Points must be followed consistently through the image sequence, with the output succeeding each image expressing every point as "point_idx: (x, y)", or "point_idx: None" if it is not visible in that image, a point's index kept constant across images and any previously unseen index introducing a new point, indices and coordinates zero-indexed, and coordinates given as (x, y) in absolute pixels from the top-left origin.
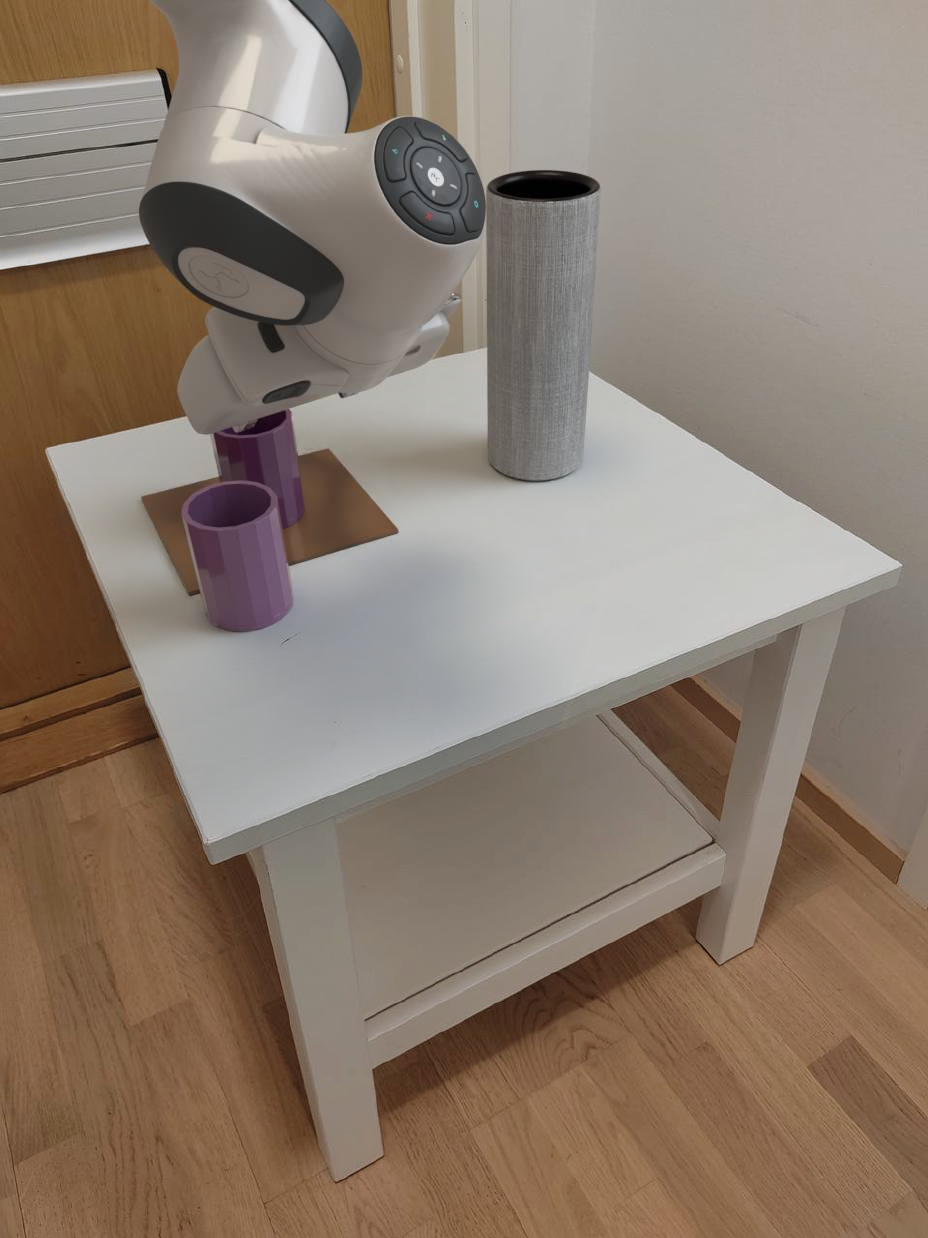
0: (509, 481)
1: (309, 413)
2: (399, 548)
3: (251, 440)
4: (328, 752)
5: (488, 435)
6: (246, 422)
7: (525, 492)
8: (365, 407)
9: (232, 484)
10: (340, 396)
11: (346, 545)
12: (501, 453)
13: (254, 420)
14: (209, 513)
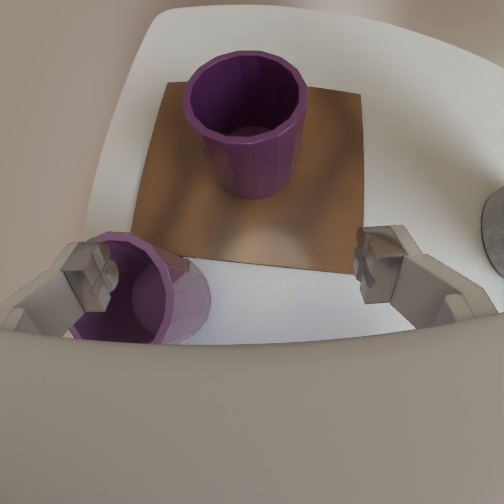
0: (482, 255)
1: (364, 41)
2: (345, 302)
3: (216, 143)
4: None
5: (498, 206)
6: (74, 323)
7: (484, 282)
8: (413, 63)
9: (137, 246)
10: (353, 262)
11: (298, 268)
12: (496, 236)
13: (97, 311)
14: (117, 249)
